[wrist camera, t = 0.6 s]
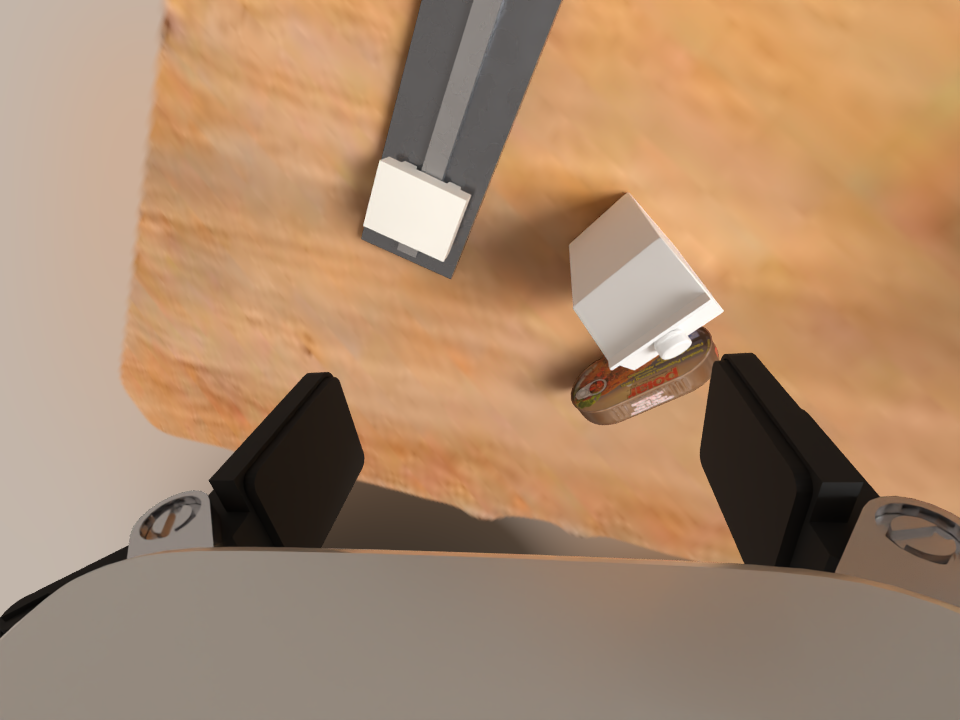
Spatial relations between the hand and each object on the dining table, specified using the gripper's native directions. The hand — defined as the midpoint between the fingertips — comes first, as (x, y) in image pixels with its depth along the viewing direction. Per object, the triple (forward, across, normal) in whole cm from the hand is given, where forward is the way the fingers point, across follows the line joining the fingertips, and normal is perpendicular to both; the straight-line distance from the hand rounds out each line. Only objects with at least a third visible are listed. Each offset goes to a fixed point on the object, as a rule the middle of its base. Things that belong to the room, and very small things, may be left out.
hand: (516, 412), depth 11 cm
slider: (+33, +11, 0) cm, 35 cm away
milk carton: (+35, -8, +6) cm, 36 cm away
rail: (+35, +7, -7) cm, 36 cm away
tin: (+36, -10, +18) cm, 41 cm away
